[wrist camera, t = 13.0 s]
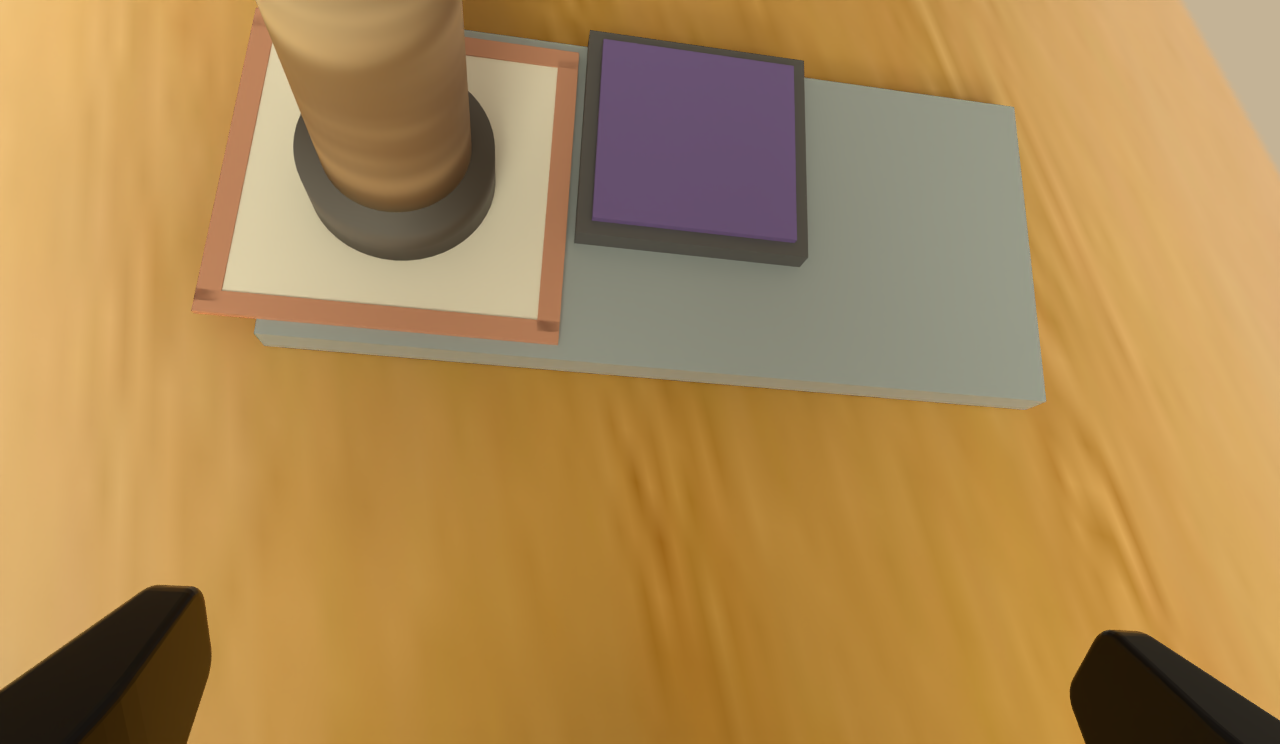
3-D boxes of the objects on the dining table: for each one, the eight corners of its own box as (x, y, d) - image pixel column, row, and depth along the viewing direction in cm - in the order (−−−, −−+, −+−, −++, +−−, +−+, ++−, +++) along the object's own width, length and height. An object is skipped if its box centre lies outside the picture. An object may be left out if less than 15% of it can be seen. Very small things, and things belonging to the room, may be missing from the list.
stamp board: (204, 340, 22) (177, 315, 20) (269, 23, 24) (251, -24, 23) (1025, 409, 25) (1066, 393, 23) (996, 123, 28) (1030, 89, 26)
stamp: (427, 294, 22) (328, -128, 9) (267, 196, 22) (-39, -352, 9) (530, 159, 23) (561, -353, 11) (381, 67, 23) (247, -542, 11)
